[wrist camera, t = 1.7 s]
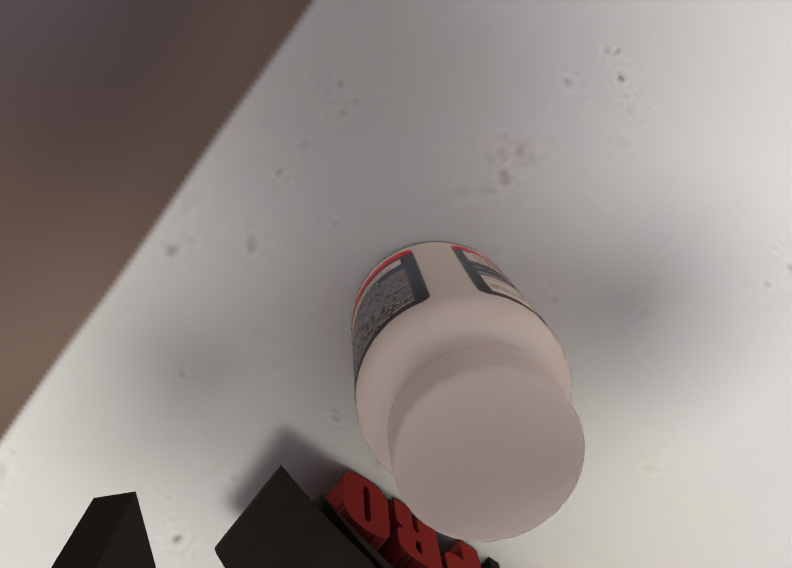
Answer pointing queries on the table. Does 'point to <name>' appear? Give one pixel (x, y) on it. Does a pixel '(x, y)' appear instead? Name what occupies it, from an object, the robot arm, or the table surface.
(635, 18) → the table surface
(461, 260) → the pill bottle
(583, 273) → the table surface
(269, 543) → the logo sign
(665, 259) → the table surface
